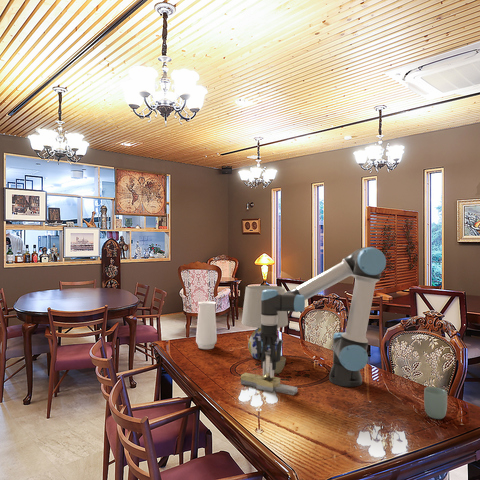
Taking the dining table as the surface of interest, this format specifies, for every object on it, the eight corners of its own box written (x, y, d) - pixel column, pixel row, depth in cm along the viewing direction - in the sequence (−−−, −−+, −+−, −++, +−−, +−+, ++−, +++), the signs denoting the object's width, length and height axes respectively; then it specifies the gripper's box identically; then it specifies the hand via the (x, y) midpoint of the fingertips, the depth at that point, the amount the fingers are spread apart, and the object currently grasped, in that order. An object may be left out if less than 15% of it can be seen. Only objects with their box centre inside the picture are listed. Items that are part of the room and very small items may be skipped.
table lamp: (286, 365, 206) (287, 290, 207) (237, 361, 211) (238, 289, 212) (288, 351, 233) (289, 286, 234) (244, 349, 238) (245, 284, 238)
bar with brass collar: (298, 390, 170) (298, 381, 170) (292, 396, 163) (292, 387, 163) (247, 379, 182) (247, 371, 182) (238, 385, 175) (239, 376, 175)
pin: (274, 381, 173) (274, 350, 173) (270, 384, 170) (271, 352, 170) (266, 380, 175) (266, 349, 175) (262, 382, 172) (262, 351, 172)
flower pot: (284, 376, 189) (285, 361, 189) (264, 374, 191) (265, 360, 191) (286, 369, 198) (286, 356, 199) (267, 368, 200) (267, 354, 201)
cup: (426, 410, 150) (427, 385, 151) (449, 416, 146) (449, 390, 146) (421, 417, 144) (421, 390, 145) (444, 423, 140) (444, 396, 140)
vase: (194, 345, 245) (194, 301, 245) (213, 344, 249) (214, 300, 249) (198, 350, 232) (198, 304, 233) (218, 349, 236) (219, 303, 237)
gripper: (288, 324, 172) (288, 376, 172) (257, 320, 180) (256, 370, 180) (282, 327, 166) (281, 381, 165) (249, 323, 174) (248, 375, 173)
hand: (268, 375), depth 172 cm, fingers closed on pin, 3 cm apart
